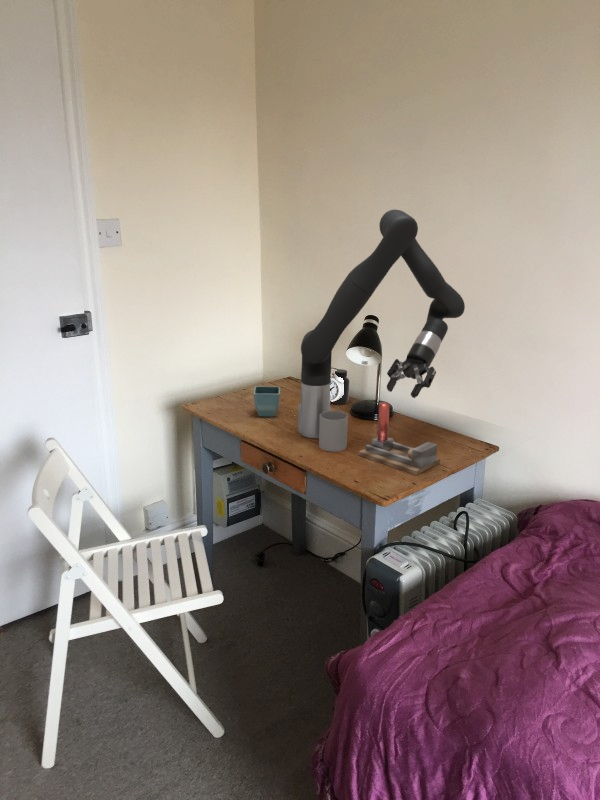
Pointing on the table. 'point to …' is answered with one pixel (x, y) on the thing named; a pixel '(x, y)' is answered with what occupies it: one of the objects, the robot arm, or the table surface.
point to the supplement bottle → (343, 375)
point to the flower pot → (266, 400)
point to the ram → (383, 428)
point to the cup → (333, 431)
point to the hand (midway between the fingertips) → (400, 393)
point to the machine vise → (404, 456)
